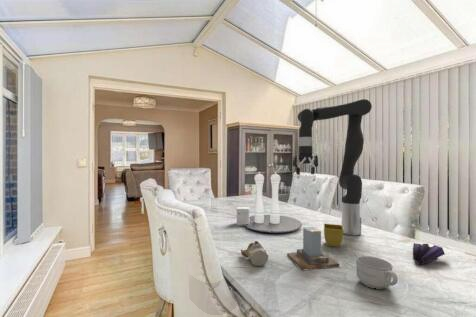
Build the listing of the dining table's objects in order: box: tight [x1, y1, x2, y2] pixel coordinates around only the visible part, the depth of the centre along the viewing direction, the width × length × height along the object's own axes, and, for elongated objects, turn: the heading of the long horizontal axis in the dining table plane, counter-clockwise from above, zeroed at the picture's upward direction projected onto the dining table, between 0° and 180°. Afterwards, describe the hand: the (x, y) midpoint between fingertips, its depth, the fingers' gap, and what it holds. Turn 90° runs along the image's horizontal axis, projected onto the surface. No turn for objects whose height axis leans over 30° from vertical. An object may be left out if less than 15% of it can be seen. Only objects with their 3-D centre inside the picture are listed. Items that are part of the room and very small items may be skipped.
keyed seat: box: [286, 248, 340, 271], centre depth 102 cm, size 16×14×3 cm
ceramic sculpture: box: [240, 240, 269, 267], centre depth 102 cm, size 11×9×15 cm
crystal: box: [412, 242, 446, 266], centre depth 103 cm, size 7×12×20 cm
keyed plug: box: [302, 226, 322, 258], centre depth 102 cm, size 4×6×12 cm
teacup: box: [355, 255, 399, 290], centre depth 81 cm, size 14×11×8 cm
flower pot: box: [323, 223, 344, 248], centre depth 119 cm, size 9×9×9 cm
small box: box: [236, 206, 251, 226], centre depth 155 cm, size 8×6×10 cm
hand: (305, 174), depth 136 cm, fingers open, 8 cm apart
